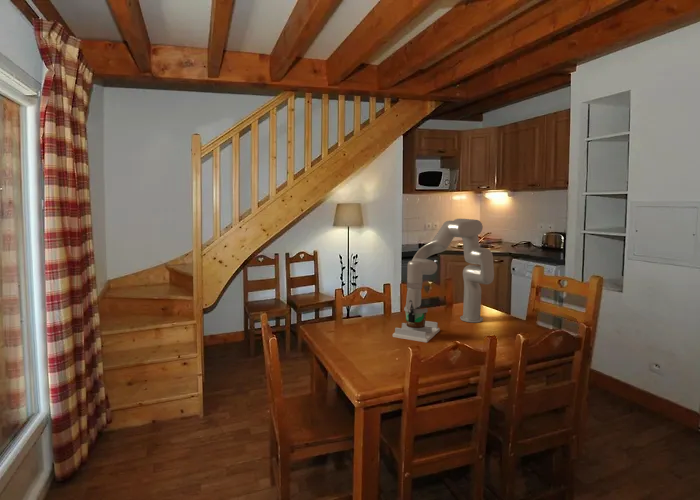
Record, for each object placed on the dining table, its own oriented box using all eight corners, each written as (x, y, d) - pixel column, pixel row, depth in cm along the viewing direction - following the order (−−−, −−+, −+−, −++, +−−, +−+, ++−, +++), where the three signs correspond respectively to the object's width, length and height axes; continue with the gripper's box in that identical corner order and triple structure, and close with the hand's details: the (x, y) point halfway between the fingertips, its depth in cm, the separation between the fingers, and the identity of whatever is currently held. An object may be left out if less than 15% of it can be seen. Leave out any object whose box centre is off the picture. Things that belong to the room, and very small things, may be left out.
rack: (407, 325, 246) (407, 317, 245) (439, 330, 237) (439, 322, 237) (392, 336, 227) (392, 328, 227) (426, 342, 219) (427, 333, 218)
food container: (400, 326, 228) (400, 307, 226) (404, 323, 233) (404, 304, 232) (423, 330, 222) (423, 310, 221) (427, 327, 227) (427, 307, 226)
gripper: (413, 281, 234) (412, 315, 236) (401, 287, 219) (400, 323, 221) (427, 283, 231) (426, 317, 233) (415, 289, 215) (415, 325, 218)
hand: (413, 320), depth 227 cm, fingers closed on food container, 6 cm apart
